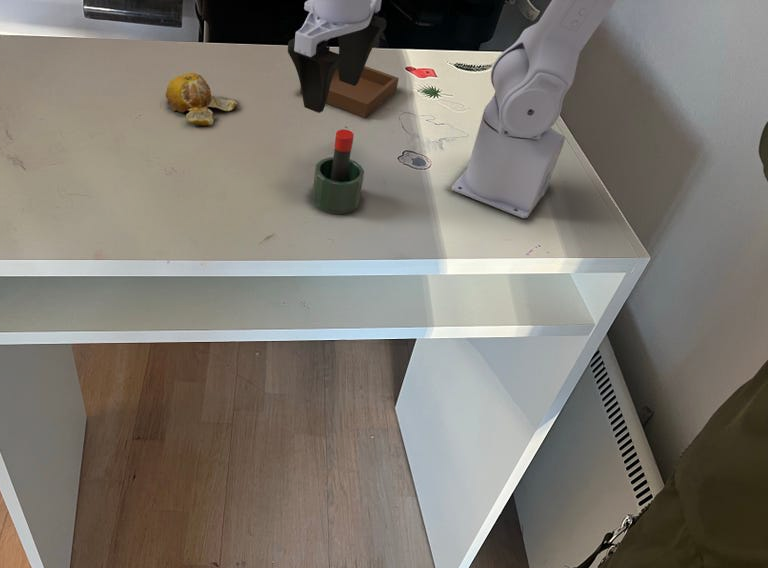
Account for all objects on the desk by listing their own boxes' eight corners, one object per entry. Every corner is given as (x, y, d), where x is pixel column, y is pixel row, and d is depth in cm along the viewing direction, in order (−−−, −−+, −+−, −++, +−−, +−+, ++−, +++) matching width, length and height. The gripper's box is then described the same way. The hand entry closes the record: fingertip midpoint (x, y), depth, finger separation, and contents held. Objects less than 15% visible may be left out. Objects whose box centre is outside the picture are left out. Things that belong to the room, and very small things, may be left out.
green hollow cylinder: (367, 197, 87) (372, 168, 84) (344, 220, 84) (349, 190, 81) (327, 180, 89) (330, 151, 86) (303, 202, 86) (306, 172, 83)
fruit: (201, 131, 94) (200, 104, 91) (150, 108, 97) (149, 81, 94) (240, 106, 99) (241, 79, 96) (191, 85, 102) (191, 59, 99)
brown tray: (396, 91, 105) (398, 77, 103) (365, 118, 99) (367, 104, 98) (333, 68, 108) (334, 55, 106) (299, 93, 102) (301, 79, 101)
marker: (347, 195, 86) (356, 133, 80) (339, 203, 85) (348, 140, 79) (333, 189, 87) (341, 127, 81) (324, 197, 86) (332, 134, 80)
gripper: (348, -65, 79) (333, 60, 89) (271, -25, 70) (265, 109, 80) (407, -47, 77) (385, 79, 87) (336, -3, 68) (321, 131, 78)
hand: (331, 95), depth 83 cm, fingers open, 7 cm apart
